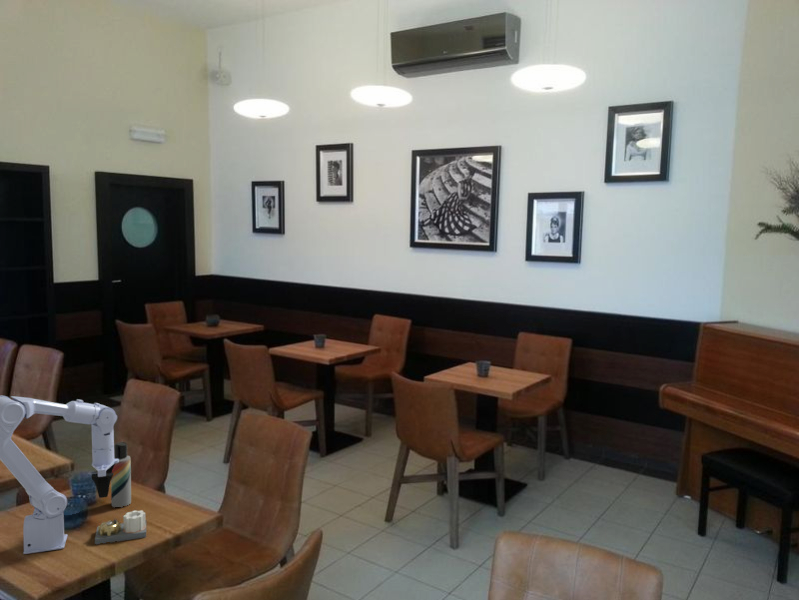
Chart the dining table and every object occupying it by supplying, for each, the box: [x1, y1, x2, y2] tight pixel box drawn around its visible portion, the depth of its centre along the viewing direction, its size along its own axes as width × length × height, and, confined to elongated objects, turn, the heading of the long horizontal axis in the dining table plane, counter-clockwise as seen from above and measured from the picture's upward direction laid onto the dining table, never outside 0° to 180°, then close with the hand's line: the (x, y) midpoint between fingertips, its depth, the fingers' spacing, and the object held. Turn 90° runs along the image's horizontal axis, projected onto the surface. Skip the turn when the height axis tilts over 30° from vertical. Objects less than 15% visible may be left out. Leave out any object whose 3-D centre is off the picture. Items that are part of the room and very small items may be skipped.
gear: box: [97, 518, 122, 536], centre depth 170 cm, size 6×6×3 cm
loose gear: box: [122, 509, 146, 533], centre depth 172 cm, size 6×6×4 cm
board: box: [94, 515, 147, 545], centre depth 171 cm, size 13×8×5 cm, turn 112°
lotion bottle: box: [110, 441, 132, 508], centre depth 191 cm, size 6×6×20 cm
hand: (104, 491), depth 175 cm, fingers open, 7 cm apart
